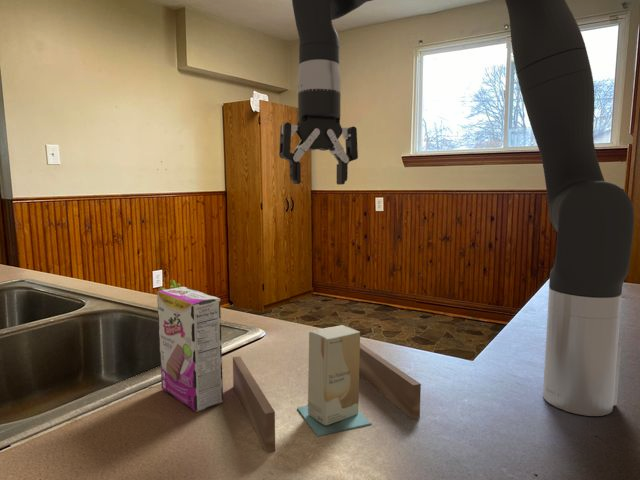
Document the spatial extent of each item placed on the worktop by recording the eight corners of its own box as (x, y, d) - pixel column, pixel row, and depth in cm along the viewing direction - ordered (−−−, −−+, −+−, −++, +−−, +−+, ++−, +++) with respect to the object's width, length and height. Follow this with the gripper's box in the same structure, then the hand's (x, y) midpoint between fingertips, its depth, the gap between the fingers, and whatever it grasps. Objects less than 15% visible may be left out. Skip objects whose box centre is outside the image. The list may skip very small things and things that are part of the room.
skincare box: (325, 427, 60) (325, 339, 59) (306, 414, 63) (306, 331, 62) (360, 413, 64) (361, 330, 62) (341, 402, 67) (342, 323, 66)
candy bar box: (159, 390, 72) (155, 290, 70) (187, 381, 75) (184, 285, 73) (195, 414, 64) (191, 302, 62) (224, 403, 67) (222, 296, 66)
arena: (355, 366, 81) (356, 340, 81) (419, 417, 63) (420, 383, 63) (233, 386, 73) (232, 357, 73) (265, 452, 55) (265, 413, 54)
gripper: (287, 83, 73) (288, 183, 74) (365, 90, 78) (364, 184, 80) (274, 92, 80) (275, 184, 81) (346, 98, 85) (346, 184, 87)
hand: (319, 184), depth 81 cm, fingers open, 8 cm apart
